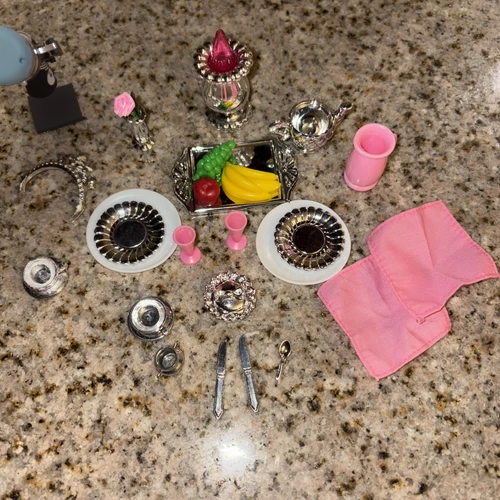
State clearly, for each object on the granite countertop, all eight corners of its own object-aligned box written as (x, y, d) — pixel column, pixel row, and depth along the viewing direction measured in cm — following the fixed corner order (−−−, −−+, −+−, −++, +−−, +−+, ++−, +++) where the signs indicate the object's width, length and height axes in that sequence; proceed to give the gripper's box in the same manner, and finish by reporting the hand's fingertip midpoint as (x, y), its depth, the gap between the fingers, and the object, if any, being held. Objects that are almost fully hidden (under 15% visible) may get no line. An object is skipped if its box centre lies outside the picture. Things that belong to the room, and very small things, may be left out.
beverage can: (53, 102, 99) (27, 58, 88) (22, 99, 99) (-8, 55, 88) (62, 76, 101) (38, 30, 90) (32, 73, 102) (3, 27, 91)
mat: (28, 99, 108) (26, 96, 107) (73, 85, 109) (71, 82, 108) (38, 134, 105) (36, 132, 104) (83, 120, 106) (82, 117, 105)
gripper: (-35, 104, 77) (-8, 98, 98) (82, 60, 80) (84, 62, 101) (-63, 56, 74) (-29, 60, 95) (60, 11, 77) (66, 25, 98)
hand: (29, 61), depth 98 cm, fingers closed on beverage can, 6 cm apart
